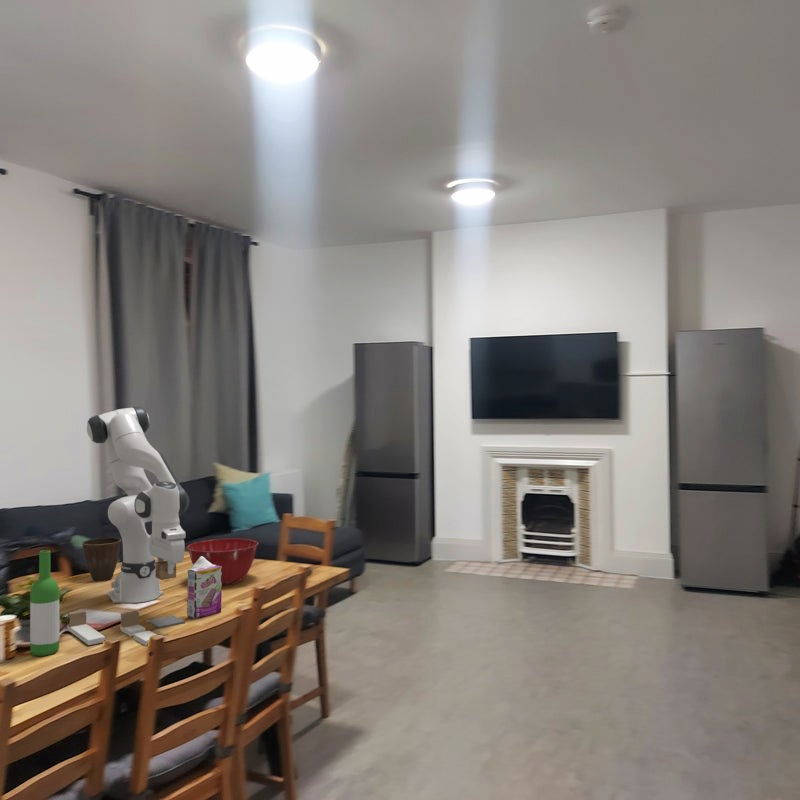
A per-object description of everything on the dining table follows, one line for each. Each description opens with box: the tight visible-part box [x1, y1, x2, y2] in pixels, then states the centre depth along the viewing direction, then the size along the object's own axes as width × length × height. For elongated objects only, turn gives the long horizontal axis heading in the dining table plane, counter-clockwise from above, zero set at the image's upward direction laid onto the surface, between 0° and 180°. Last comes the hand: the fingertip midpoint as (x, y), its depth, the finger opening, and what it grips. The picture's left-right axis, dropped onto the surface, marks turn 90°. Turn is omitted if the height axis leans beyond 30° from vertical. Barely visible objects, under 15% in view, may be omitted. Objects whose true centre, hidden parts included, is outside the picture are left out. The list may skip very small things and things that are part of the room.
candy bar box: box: [186, 565, 223, 620], centre depth 254 cm, size 11×5×16 cm, turn 141°
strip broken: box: [120, 610, 157, 647], centre depth 231 cm, size 20×5×6 cm, turn 41°
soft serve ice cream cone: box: [190, 556, 212, 569], centre depth 275 cm, size 8×8×16 cm
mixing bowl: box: [186, 538, 259, 586], centre depth 300 cm, size 28×28×16 cm
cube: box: [155, 560, 177, 581], centre depth 245 cm, size 5×5×5 cm
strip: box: [67, 609, 106, 646], centre depth 230 cm, size 20×5×6 cm, turn 41°
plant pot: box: [81, 537, 122, 582], centre depth 304 cm, size 15×15×16 cm
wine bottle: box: [29, 549, 60, 657], centre depth 216 cm, size 8×8×30 cm
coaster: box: [147, 615, 186, 629], centre depth 245 cm, size 9×9×1 cm
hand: (165, 572), depth 245 cm, fingers closed on cube, 5 cm apart
